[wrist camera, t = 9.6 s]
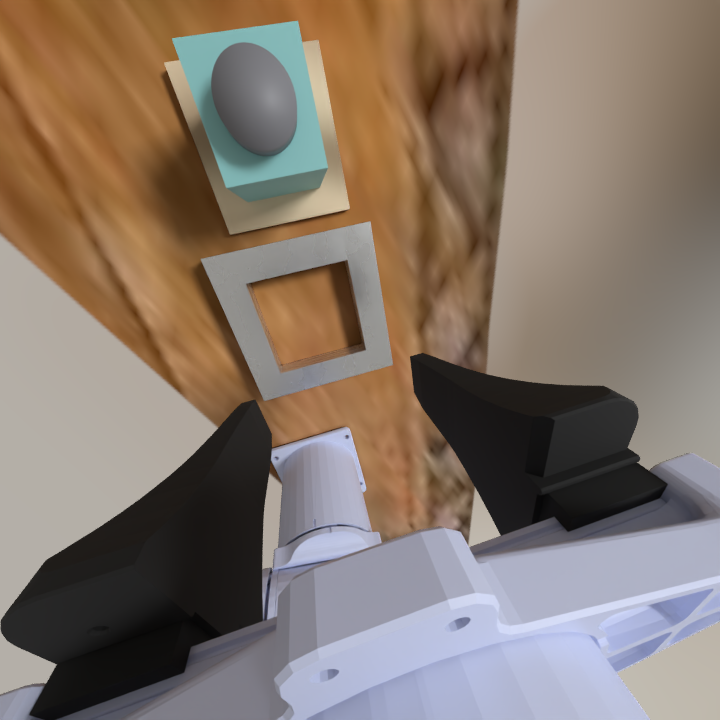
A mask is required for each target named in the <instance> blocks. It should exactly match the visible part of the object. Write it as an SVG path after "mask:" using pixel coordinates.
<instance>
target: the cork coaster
mask: <svg viewBox="0 0 720 720" xmlns="http://www.w3.org/2000/svg"><path fill="white" fill-rule="evenodd" d="M302 44H303V49H304V53H305V58H306V63H307V68H308V73H309V78H310V82H311V87H312V92H313V97H314V102H315V106H316V111H317V116H318V121H319V126H320V131H321V135H322V140H323V145H324V150H325V155H326V160H327V164H328V169H327V172H326V174H325V176H324V179H323V181H322V183H321V186H320V188H315V189H310V190H306V191H301V192H296V193H291V194H286V195H281V196H276V197H272V198H267V199H262V200H257V201H252V202H247V201H245V200H244V199H242V198H241V197H239V196H238V195H236V194H235V193H233V192H232V191H230V190H229V189H227V188H226V186H225V183H224V180H223V178H222V175H221V172H220V169H219V167H218V164H217V161H216V158H215V156H214V153H213V150H212V147H211V145H210V142H209V139H208V136H207V134H206V131H205V128H204V125H203V123H202V120H201V117H200V114H199V112H198V109H197V106H196V103H195V101H194V98H193V95H192V92H191V90H190V87H189V84H188V81H187V79H186V76H185V73H184V70H183V68H182V65H181V62H180V60H179V61H172V62H166V63H164V64H165V67H166V69H167V72H168V74H169V77H170V80H171V82H172V85H173V87H174V90H175V93H176V95H177V98H178V100H179V103H180V106H181V108H182V111H183V113H184V116H185V119H186V121H187V124H188V126H189V129H190V132H191V134H192V137H193V139H194V142H195V145H196V147H197V150H198V152H199V155H200V158H201V160H202V163H203V165H204V168H205V171H206V173H207V176H208V178H209V181H210V184H211V186H212V189H213V191H214V194H215V197H216V199H217V202H218V204H219V207H220V210H221V212H222V215H223V217H224V220H225V223H226V225H227V228H228V230H229V233H230V235H233V234H238V233H242V232H247V231H251V230H256V229H261V228H265V227H270V226H275V225H279V224H284V223H288V222H293V221H298V220H302V219H307V218H312V217H316V216H321V215H326V214H330V213H335V212H339V211H344V210H349V209H350V207H349V202H348V196H347V191H346V185H345V180H344V175H343V169H342V164H341V159H340V153H339V148H338V143H337V137H336V132H335V126H334V121H333V116H332V110H331V105H330V100H329V94H328V89H327V84H326V78H325V73H324V67H323V62H322V57H321V51H320V46H319V41H318V40H314V41H307V42H302Z"/></svg>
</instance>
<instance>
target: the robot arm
mask: <svg viewBox="0 0 720 720" xmlns="http://www.w3.org/2000/svg"><path fill="white" fill-rule="evenodd" d="M410 360H411V369H412V377H413V386H414V393H415V395H416V397H417V398H418V400H419V402H420V404H421V406H422V408H423V409H424V411H425V412H426V413H427V415H428V416H429V417H430V419H431V420H432V422H433V423H434V424H435V426H436V427H437V428H438V430H439V431H440V432H441V434H442V435H443V436H444V438H445V439H446V440H447V442H448V443H449V444H450V446H451V447H452V449H453V450H454V452H455V453H456V455H457V456H458V458H459V460H460V462H461V463H462V465H463V467H464V468H465V470H466V472H467V473H468V475H469V477H470V479H471V481H472V482H473V484H474V486H475V488H476V489H477V491H478V493H479V495H480V496H481V498H482V500H483V502H484V504H485V506H486V508H487V510H488V512H489V513H490V515H491V517H492V519H493V521H494V523H495V525H496V527H497V529H498V531H499V533H500V535H501V536H499V537H496V538H494V539H491V540H488V541H485V542H482V543H480V544H477V545H474V546H471V547H468V545H467V543H466V541H465V539H464V537H463V536H462V534H461V532H459V531H456V530H452V529H448V528H444V527H440V526H438V527H433V528H427V529H422V530H417V531H414V532H412V533H409V534H406V535H403V536H400V537H397V538H394V539H391V540H388V541H385V542H383V543H382V542H381V538H380V535H379V532H372V530H371V526H370V522H369V518H368V513H367V509H366V505H365V501H364V497H363V492H365V491H366V485H365V482H364V478H363V474H362V471H361V467H360V464H359V460H358V457H357V453H356V449H355V446H354V442H353V439H352V435H351V432H350V429H349V428H348V427H343V428H340V429H337V430H333V431H330V432H327V433H323V434H320V435H317V436H313V437H310V438H307V439H303V440H300V441H297V442H293V443H290V444H287V445H283V446H280V447H277V448H273V449H272V434H271V432H270V429H269V427H268V425H267V423H266V421H265V419H264V417H263V415H262V413H261V410H260V408H259V406H258V404H257V402H256V400H252V401H248V402H244V403H241V404H240V405H239V406H238V407H237V408H236V409H235V410H234V411H233V412H232V414H231V415H230V416H229V417H228V418H227V419H226V420H225V421H224V422H223V424H222V425H221V426H220V427H219V428H218V429H217V430H216V431H215V432H214V434H213V435H212V436H211V437H210V438H209V439H208V440H207V441H206V442H205V443H204V444H203V445H202V446H201V447H200V448H199V449H198V450H197V451H196V452H195V453H194V454H193V455H192V456H191V457H190V458H189V459H188V460H187V461H186V462H185V463H184V464H182V466H180V467H179V468H178V469H177V470H176V471H175V472H173V473H172V474H171V475H170V476H169V477H167V478H166V479H165V480H164V481H162V482H161V483H160V484H159V485H157V486H156V487H155V488H154V489H152V490H151V491H150V492H149V493H147V494H146V495H145V496H143V497H142V498H141V499H140V500H138V501H137V502H135V503H134V504H133V505H131V506H130V507H128V508H127V509H126V510H124V511H123V512H121V513H120V514H118V515H117V516H115V517H114V518H112V519H111V520H110V521H108V522H107V523H105V524H104V525H102V526H101V527H99V528H97V529H96V530H94V531H93V532H91V533H90V534H88V535H86V536H85V537H83V538H81V539H80V540H78V541H77V542H75V543H73V544H72V545H70V546H69V547H67V548H66V549H64V550H62V551H61V552H59V553H57V554H56V555H54V556H52V557H50V558H49V559H47V560H46V561H45V562H44V563H43V565H42V566H41V568H40V569H39V570H38V571H37V573H36V574H35V575H34V577H33V578H32V579H31V581H30V582H29V583H28V585H27V586H26V587H25V589H24V590H23V591H22V592H21V594H20V595H19V597H18V598H17V599H16V600H15V602H14V603H13V604H12V605H11V607H10V608H9V609H8V611H7V612H6V613H5V615H4V617H3V618H2V619H1V632H2V634H3V636H4V637H5V638H6V640H7V641H9V642H10V643H12V644H13V645H15V646H17V647H19V648H21V649H23V650H26V651H28V652H30V653H32V654H35V655H37V656H39V657H41V658H44V659H46V660H48V661H51V662H53V663H55V664H57V666H56V668H55V669H54V671H53V673H52V674H51V676H50V678H49V680H48V682H47V683H46V684H44V683H41V684H32V685H27V686H24V687H21V688H18V689H15V690H12V691H9V692H6V693H4V694H1V695H0V720H650V719H649V717H648V716H647V715H646V713H645V712H644V710H643V709H642V708H641V706H640V705H639V703H638V702H637V701H636V699H635V698H634V696H633V695H632V694H631V692H630V691H629V689H628V688H627V687H626V685H625V684H624V683H623V681H622V680H621V678H620V677H619V676H618V674H617V673H618V672H620V671H622V670H624V669H626V668H628V667H630V666H632V665H634V664H636V663H638V662H640V661H642V660H644V659H646V658H648V657H650V656H652V655H654V654H656V653H658V652H660V651H662V650H664V649H666V648H668V647H670V646H672V645H674V644H676V643H678V642H680V641H682V640H684V639H686V638H688V637H690V636H692V635H694V634H696V633H698V632H700V631H702V630H704V629H706V628H708V627H710V626H712V625H714V624H716V623H718V622H720V468H718V467H717V466H715V465H713V464H712V463H710V462H708V461H706V460H704V459H703V458H701V457H699V456H697V455H696V454H694V453H686V454H684V455H681V456H678V457H675V458H672V459H669V460H667V461H664V462H661V463H659V464H657V465H655V466H654V467H653V468H651V469H650V470H649V471H648V470H647V469H645V468H644V467H643V466H641V465H640V464H638V463H637V462H639V460H640V457H639V455H637V454H635V453H634V452H633V451H631V450H630V449H628V448H627V447H628V445H629V442H630V440H631V437H632V435H633V433H634V430H635V428H636V425H637V421H638V408H637V406H636V404H635V403H634V401H632V400H630V399H628V398H626V397H624V396H622V395H620V394H618V393H617V392H615V391H613V390H611V389H609V388H607V387H605V386H574V385H554V384H541V383H532V382H525V381H518V380H511V379H506V378H501V377H496V376H492V375H487V374H483V373H480V372H476V371H473V370H469V369H466V368H463V367H460V366H457V365H454V364H452V363H449V362H446V361H443V360H441V359H438V358H436V357H433V356H430V355H427V354H424V353H421V354H417V355H414V356H410ZM346 435H348V436H347V437H345V436H346ZM275 457H278V458H275ZM271 461H272V463H273V465H274V467H275V469H276V471H277V473H278V475H279V477H280V479H281V481H282V498H281V513H280V528H279V544H278V548H276V549H275V550H274V559H273V572H272V568H265V569H263V570H262V547H263V546H262V545H263V515H264V505H265V497H266V490H267V483H268V477H269V470H270V463H271Z"/></svg>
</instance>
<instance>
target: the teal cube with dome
mask: <svg viewBox="0 0 720 720" xmlns="http://www.w3.org/2000/svg"><path fill="white" fill-rule="evenodd" d="M172 40H173V43H174V46H175V48H176V51H177V54H178V57H179V59H180V62H181V65H182V68H183V70H184V73H185V76H186V79H187V81H188V84H189V87H190V90H191V92H192V95H193V98H194V101H195V103H196V106H197V109H198V112H199V114H200V117H201V120H202V123H203V125H204V128H205V131H206V134H207V136H208V139H209V142H210V145H211V147H212V150H213V153H214V156H215V158H216V161H217V164H218V167H219V169H220V172H221V175H222V178H223V180H224V183H225V186H226V188H227V189H229V190H230V191H232V192H233V193H235V194H236V195H238V196H239V197H241V198H242V199H244V200H245V201H247V202H252V201H257V200H262V199H267V198H272V197H276V196H281V195H286V194H291V193H296V192H301V191H306V190H310V189H315V188H320V186H321V183H322V181H323V179H324V176H325V174H326V172H327V169H328V164H327V160H326V155H325V150H324V145H323V140H322V135H321V131H320V126H319V121H318V116H317V111H316V106H315V102H314V97H313V92H312V87H311V82H310V78H309V73H308V68H307V63H306V58H305V53H304V49H303V44H302V39H301V34H300V29H299V24H298V21H293V22H286V23H279V24H271V25H264V26H257V27H250V28H243V29H236V30H229V31H222V32H215V33H208V34H201V35H194V36H186V37H179V38H172Z"/></svg>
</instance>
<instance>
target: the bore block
mask: <svg viewBox="0 0 720 720" xmlns="http://www.w3.org/2000/svg"><path fill="white" fill-rule="evenodd" d="M201 261H202V263H203V266H204V268H205V270H206V272H207V275H208V277H209V279H210V281H211V284H212V286H213V288H214V290H215V292H216V295H217V297H218V299H219V301H220V304H221V306H222V308H223V310H224V312H225V315H226V317H227V319H228V321H229V324H230V326H231V328H232V330H233V333H234V335H235V337H236V339H237V341H238V344H239V346H240V348H241V350H242V353H243V355H244V357H245V359H246V361H247V364H248V366H249V368H250V370H251V373H252V375H253V377H254V379H255V382H256V384H257V386H258V388H259V390H260V393H261V395H262V397H263V399H264V401H266V400H270V399H273V398H277V397H280V396H284V395H287V394H291V393H295V392H298V391H302V390H305V389H309V388H312V387H316V386H319V385H323V384H327V383H330V382H334V381H337V380H341V379H344V378H348V377H351V376H355V375H359V374H362V373H366V372H369V371H373V370H376V369H380V368H383V367H387V366H391V365H393V362H392V356H391V349H390V343H389V337H388V330H387V324H386V318H385V311H384V305H383V299H382V293H381V286H380V280H379V274H378V267H377V261H376V255H375V248H374V242H373V236H372V229H371V223H370V222H365V223H361V224H356V225H352V226H347V227H343V228H338V229H334V230H329V231H325V232H320V233H316V234H311V235H307V236H302V237H298V238H293V239H289V240H284V241H280V242H275V243H271V244H266V245H262V246H257V247H253V248H248V249H244V250H239V251H235V252H230V253H226V254H221V255H217V256H212V257H208V258H203V259H201ZM340 261H345V264H346V269H347V274H348V278H349V283H350V288H351V293H352V297H353V302H354V307H355V312H356V316H357V321H358V326H359V331H360V335H361V340H362V344H358V345H355V346H351V347H347V348H343V349H340V350H336V351H332V352H329V353H325V354H321V355H317V356H314V357H310V358H306V359H303V360H299V361H295V362H291V363H288V364H284V365H281V362H280V360H279V357H278V354H277V352H276V349H275V346H274V344H273V341H272V339H271V336H270V333H269V331H268V328H267V325H266V323H265V320H264V318H263V315H262V312H261V310H260V307H259V305H258V302H257V299H256V297H255V294H254V291H253V289H252V286H251V284H250V283H251V282H256V281H260V280H264V279H268V278H273V277H277V276H281V275H285V274H290V273H294V272H298V271H302V270H307V269H311V268H315V267H319V266H323V265H328V264H332V263H336V262H340Z"/></svg>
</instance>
